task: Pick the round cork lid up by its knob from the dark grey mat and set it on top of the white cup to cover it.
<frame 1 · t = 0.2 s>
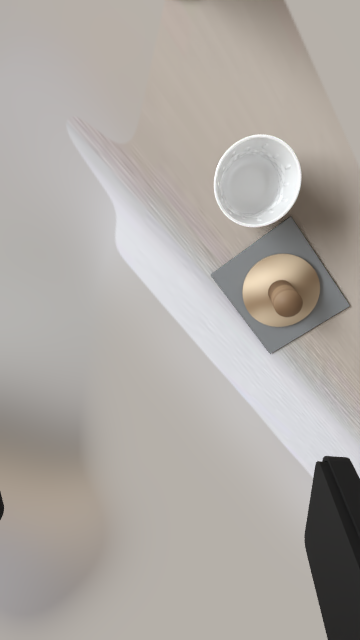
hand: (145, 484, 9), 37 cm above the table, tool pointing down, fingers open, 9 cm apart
mat: (279, 289, 44), on the table
white cup: (248, 185, 40), on the table
lid: (279, 290, 43), resting on mat
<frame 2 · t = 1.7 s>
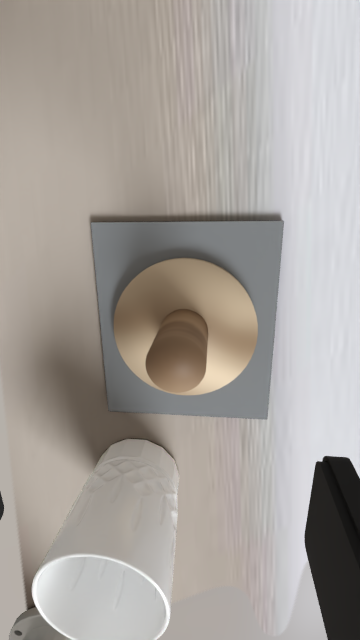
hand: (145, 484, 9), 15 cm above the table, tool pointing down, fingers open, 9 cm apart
mat: (185, 326, 23), on the table
white cup: (139, 469, 28), on the table
lid: (185, 328, 23), resting on mat
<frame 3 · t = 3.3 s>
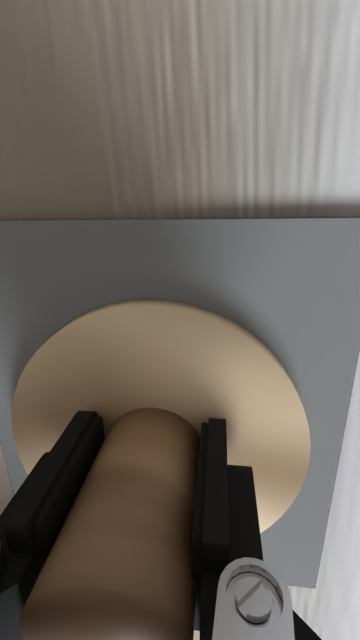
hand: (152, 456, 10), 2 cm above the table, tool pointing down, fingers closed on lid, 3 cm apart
mat: (160, 425, 12), on the table
lid: (158, 433, 11), resting on mat, touching gripper
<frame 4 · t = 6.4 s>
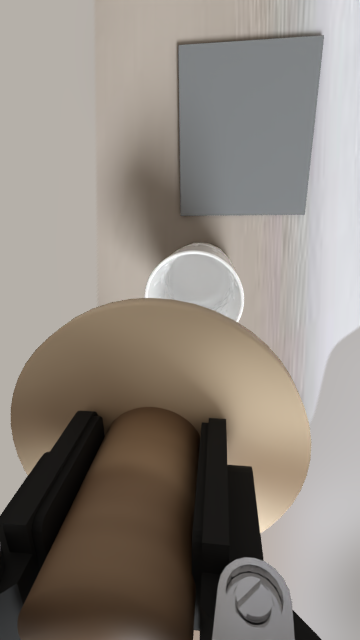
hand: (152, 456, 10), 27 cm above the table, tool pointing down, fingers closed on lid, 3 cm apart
mat: (244, 135, 31), on the table
white cup: (200, 273, 36), on the table
lid: (158, 433, 11), point 26 cm above the table, touching gripper
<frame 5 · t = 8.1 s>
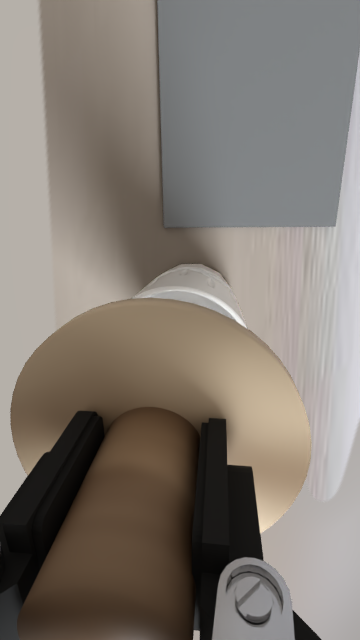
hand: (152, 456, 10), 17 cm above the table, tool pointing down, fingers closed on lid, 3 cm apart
mat: (252, 115, 22), on the table
white cup: (191, 304, 27), on the table
lid: (158, 433, 11), point 16 cm above the table, touching gripper
when the fingers open (12 cm above the table, at t = 9.3 s): lid drops 1 cm, resting on white cup.
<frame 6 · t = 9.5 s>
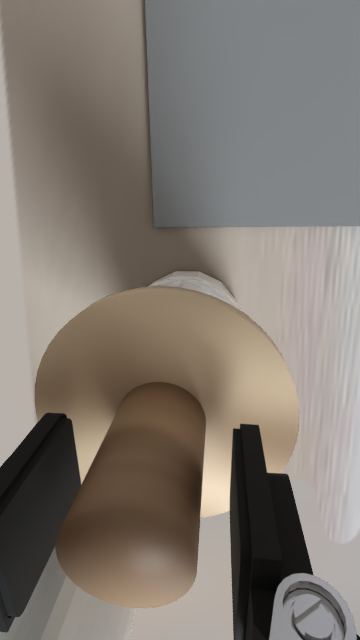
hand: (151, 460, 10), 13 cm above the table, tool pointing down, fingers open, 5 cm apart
mat: (263, 86, 17), on the table
white cup: (188, 318, 22), on the table, touching lid
lid: (165, 407, 13), point 10 cm above the table, touching white cup
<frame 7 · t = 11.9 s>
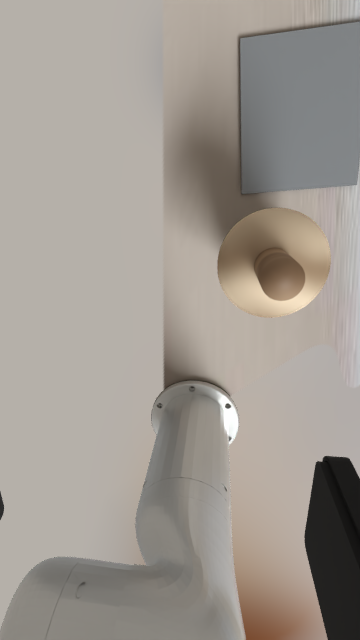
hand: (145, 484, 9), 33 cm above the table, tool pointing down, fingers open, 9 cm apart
mat: (300, 116, 34), on the table
lid: (271, 264, 30), point 10 cm above the table, touching white cup
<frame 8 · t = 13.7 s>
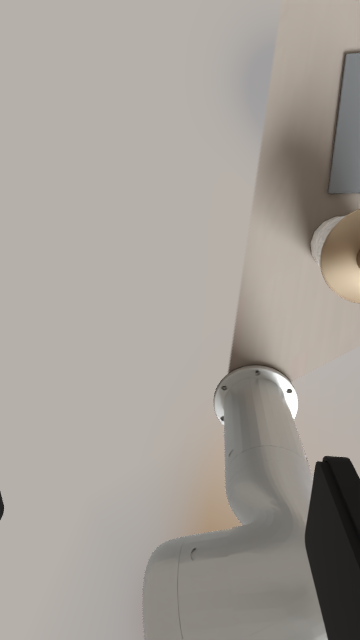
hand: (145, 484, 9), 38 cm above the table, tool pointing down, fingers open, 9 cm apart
white cup: (336, 243, 43), on the table, touching lid
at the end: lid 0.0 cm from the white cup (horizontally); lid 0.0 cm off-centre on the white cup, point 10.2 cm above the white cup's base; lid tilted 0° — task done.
